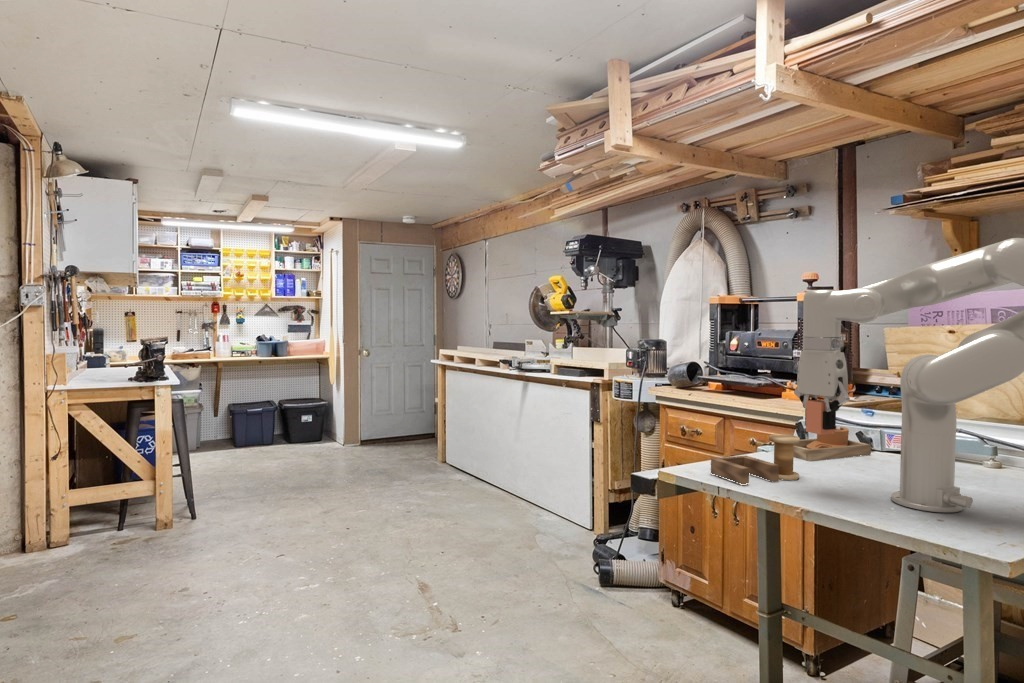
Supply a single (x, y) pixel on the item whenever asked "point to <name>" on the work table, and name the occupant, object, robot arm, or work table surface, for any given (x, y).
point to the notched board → (744, 468)
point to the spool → (784, 454)
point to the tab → (816, 417)
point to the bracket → (831, 439)
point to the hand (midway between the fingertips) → (820, 426)
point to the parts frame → (830, 451)
